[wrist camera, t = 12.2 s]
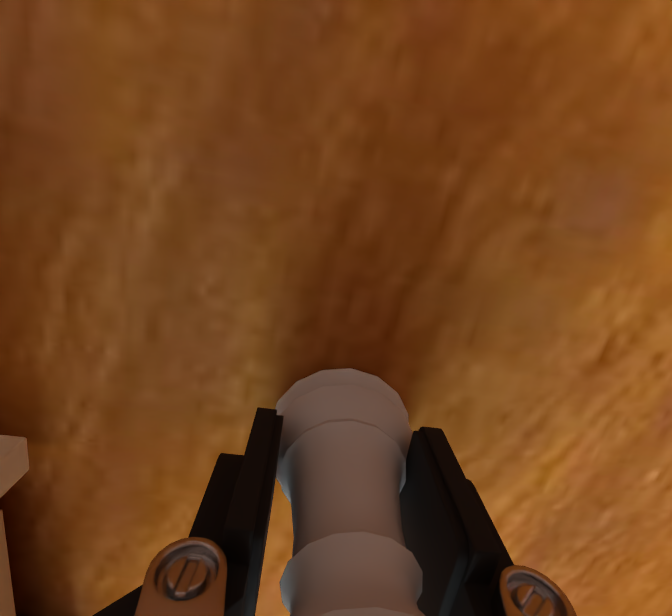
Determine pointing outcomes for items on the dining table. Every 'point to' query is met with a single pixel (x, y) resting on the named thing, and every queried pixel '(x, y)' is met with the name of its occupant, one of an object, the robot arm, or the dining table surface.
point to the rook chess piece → (346, 497)
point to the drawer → (3, 472)
